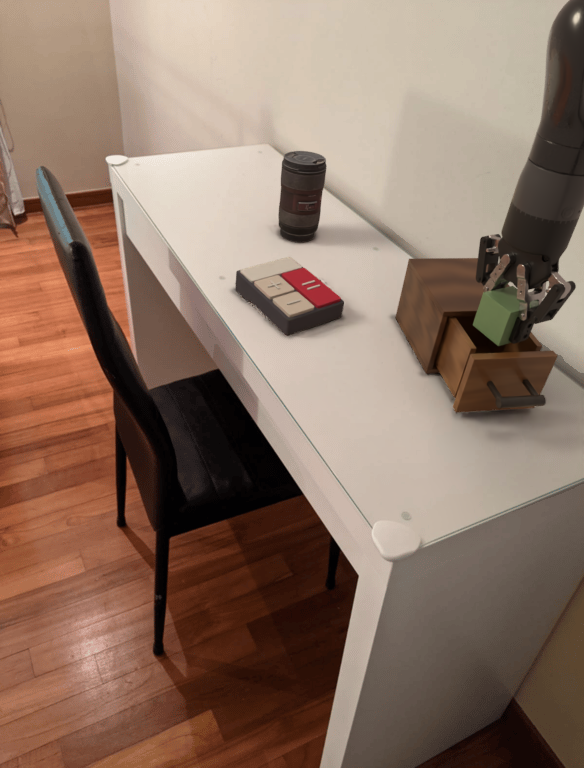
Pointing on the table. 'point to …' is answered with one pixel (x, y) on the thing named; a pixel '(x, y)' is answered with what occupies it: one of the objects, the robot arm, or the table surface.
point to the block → (498, 314)
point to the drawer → (491, 369)
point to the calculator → (289, 295)
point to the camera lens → (301, 195)
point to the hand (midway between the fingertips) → (500, 328)
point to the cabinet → (436, 301)
